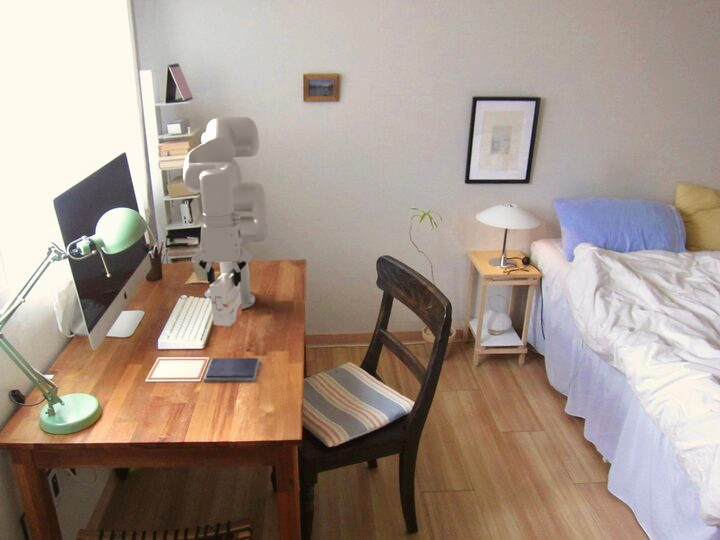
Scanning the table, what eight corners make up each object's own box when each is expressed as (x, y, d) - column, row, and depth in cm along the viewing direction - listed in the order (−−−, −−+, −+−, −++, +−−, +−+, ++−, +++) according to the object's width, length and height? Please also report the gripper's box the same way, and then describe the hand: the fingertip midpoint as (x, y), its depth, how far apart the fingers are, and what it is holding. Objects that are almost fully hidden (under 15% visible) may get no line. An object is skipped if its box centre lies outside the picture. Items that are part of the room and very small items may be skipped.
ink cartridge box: (225, 310, 158) (221, 262, 152) (242, 312, 157) (239, 263, 151) (212, 325, 150) (207, 274, 144) (230, 327, 149) (225, 276, 143)
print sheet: (158, 358, 166) (157, 357, 166) (209, 357, 166) (209, 356, 166) (144, 381, 155) (144, 380, 155) (200, 381, 155) (200, 380, 155)
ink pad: (211, 361, 164) (211, 357, 164) (259, 361, 165) (259, 357, 164) (203, 381, 155) (203, 376, 155) (255, 381, 156) (254, 376, 155)
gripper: (255, 214, 146) (259, 278, 153) (188, 214, 145) (195, 278, 153) (251, 224, 139) (255, 290, 146) (180, 223, 138) (188, 290, 146)
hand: (224, 283), depth 149 cm, fingers closed on ink cartridge box, 5 cm apart
